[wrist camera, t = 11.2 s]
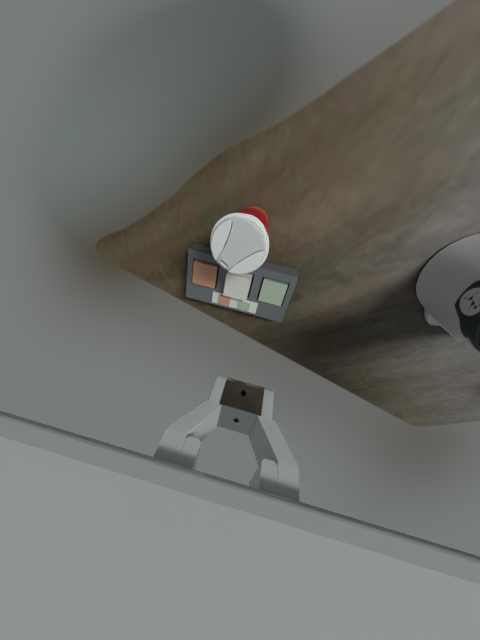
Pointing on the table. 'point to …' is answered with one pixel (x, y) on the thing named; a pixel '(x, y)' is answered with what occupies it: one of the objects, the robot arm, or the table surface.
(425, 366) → the table surface
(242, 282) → the key white
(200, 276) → the key terracotta
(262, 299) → the key sage
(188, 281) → the keypad housing
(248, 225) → the paper cup
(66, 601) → the robot arm
